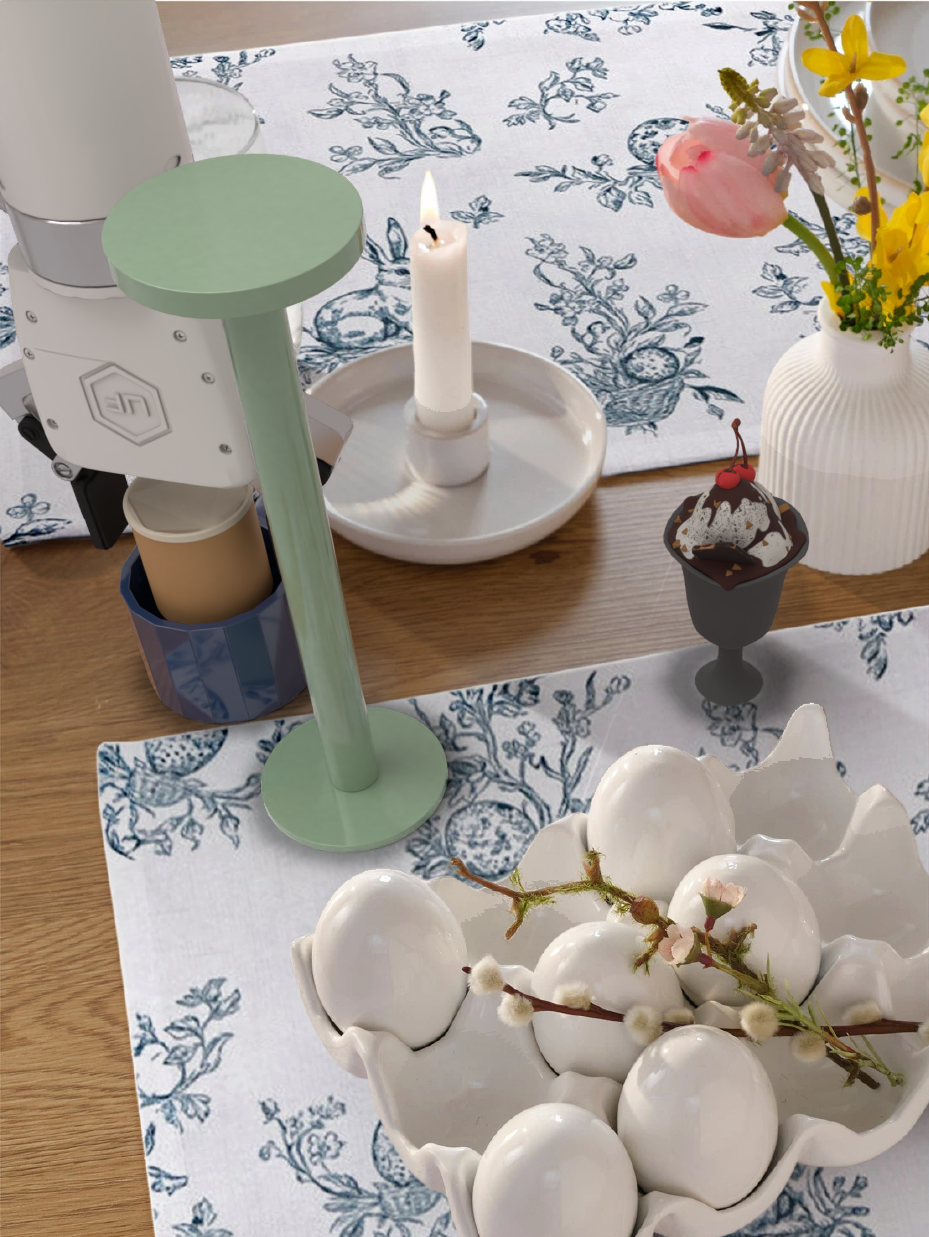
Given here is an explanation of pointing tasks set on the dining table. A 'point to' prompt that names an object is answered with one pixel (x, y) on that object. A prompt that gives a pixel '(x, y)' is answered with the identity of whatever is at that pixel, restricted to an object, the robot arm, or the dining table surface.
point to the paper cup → (199, 548)
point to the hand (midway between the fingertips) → (207, 546)
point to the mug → (217, 650)
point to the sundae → (734, 570)
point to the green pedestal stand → (284, 461)
